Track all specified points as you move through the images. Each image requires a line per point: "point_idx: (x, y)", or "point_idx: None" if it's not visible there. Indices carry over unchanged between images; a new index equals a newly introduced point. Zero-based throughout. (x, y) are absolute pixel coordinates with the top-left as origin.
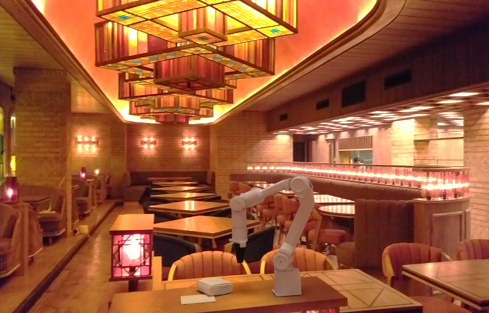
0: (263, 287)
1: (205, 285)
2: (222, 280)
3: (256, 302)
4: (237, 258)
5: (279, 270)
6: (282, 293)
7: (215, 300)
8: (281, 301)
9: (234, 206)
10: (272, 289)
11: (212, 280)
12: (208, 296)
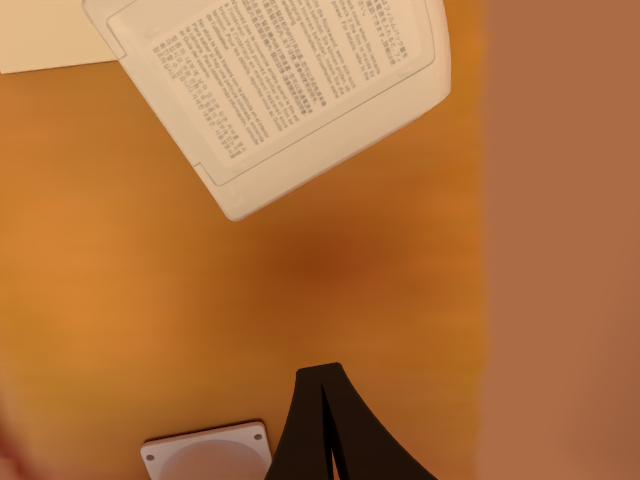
0: None
1: None
2: (288, 141)
3: (31, 344)
4: (290, 416)
5: None
6: (160, 475)
7: (19, 70)
8: (64, 457)
9: None
10: (258, 429)
11: (284, 33)
12: None
